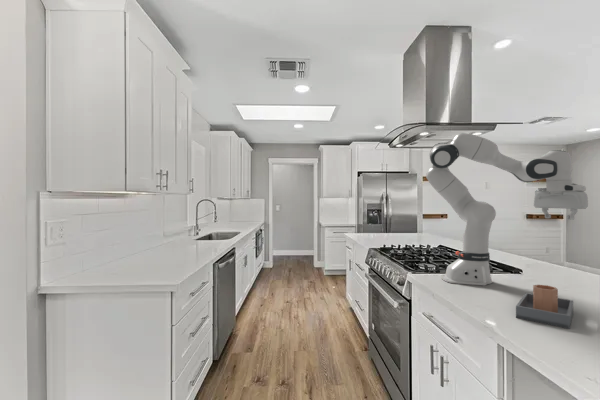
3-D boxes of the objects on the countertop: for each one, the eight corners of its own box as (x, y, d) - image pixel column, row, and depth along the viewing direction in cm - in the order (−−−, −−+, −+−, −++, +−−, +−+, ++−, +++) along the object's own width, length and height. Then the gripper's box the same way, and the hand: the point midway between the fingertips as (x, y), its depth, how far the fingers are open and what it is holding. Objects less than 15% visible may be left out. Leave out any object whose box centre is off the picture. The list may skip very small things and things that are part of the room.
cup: (548, 316, 108) (548, 290, 108) (529, 309, 114) (529, 285, 114) (561, 313, 110) (561, 288, 110) (542, 307, 116) (542, 284, 116)
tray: (569, 328, 100) (569, 316, 100) (516, 317, 109) (516, 305, 109) (573, 311, 114) (573, 300, 114) (525, 303, 124) (525, 292, 124)
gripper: (530, 188, 151) (530, 217, 151) (580, 186, 131) (580, 220, 131) (539, 188, 153) (539, 217, 153) (590, 186, 133) (590, 220, 133)
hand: (559, 218), depth 142 cm, fingers open, 8 cm apart
